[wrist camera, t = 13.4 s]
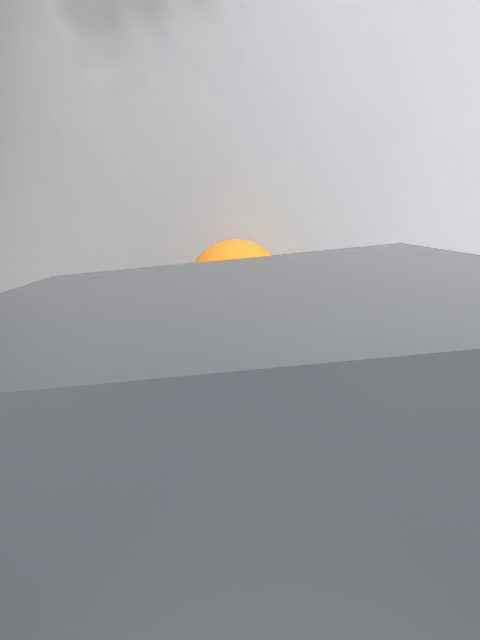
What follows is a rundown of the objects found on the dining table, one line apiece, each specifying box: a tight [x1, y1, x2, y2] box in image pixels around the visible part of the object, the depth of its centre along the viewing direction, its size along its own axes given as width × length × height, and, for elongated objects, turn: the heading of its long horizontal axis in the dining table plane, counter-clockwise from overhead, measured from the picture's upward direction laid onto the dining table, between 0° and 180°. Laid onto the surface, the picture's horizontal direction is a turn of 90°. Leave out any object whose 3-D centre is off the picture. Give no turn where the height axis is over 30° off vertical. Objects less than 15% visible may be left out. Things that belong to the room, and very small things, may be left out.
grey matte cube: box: [0, 243, 480, 640], centre depth 9 cm, size 10×10×9 cm
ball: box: [195, 239, 271, 263], centre depth 21 cm, size 5×5×5 cm
